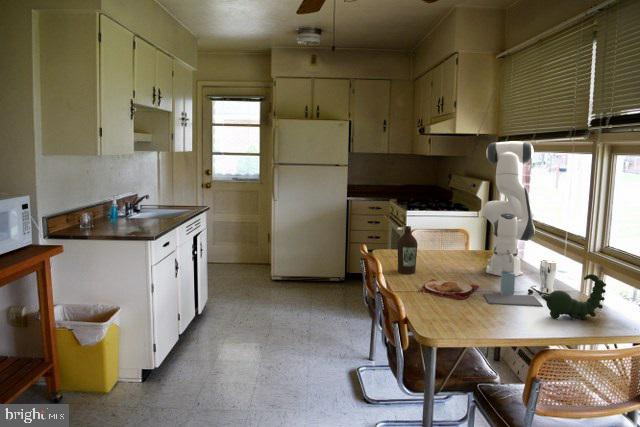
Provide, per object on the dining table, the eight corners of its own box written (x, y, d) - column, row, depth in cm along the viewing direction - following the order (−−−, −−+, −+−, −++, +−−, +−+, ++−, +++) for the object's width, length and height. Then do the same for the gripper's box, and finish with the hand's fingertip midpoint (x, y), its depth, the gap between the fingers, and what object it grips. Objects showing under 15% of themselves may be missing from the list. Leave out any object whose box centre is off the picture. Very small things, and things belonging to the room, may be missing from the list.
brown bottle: (394, 269, 274) (395, 225, 271) (412, 269, 275) (414, 224, 272) (399, 274, 263) (401, 228, 260) (419, 274, 265) (420, 227, 262)
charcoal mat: (483, 294, 229) (483, 293, 229) (533, 296, 226) (533, 295, 226) (488, 303, 215) (489, 302, 215) (542, 306, 212) (542, 305, 212)
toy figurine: (590, 317, 204) (532, 313, 202) (597, 272, 202) (539, 267, 199) (605, 325, 195) (544, 321, 192) (613, 278, 192) (551, 273, 190)
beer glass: (545, 294, 229) (547, 262, 227) (535, 290, 236) (537, 259, 234) (557, 293, 231) (560, 262, 229) (547, 289, 238) (549, 258, 236)
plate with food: (479, 289, 241) (479, 282, 241) (463, 301, 219) (464, 293, 219) (431, 282, 254) (431, 275, 253) (412, 293, 232) (413, 286, 232)
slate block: (500, 292, 233) (501, 271, 232) (511, 292, 232) (512, 271, 231) (502, 295, 228) (503, 273, 227) (513, 295, 228) (515, 274, 226)
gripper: (518, 253, 223) (516, 283, 225) (508, 244, 243) (506, 272, 245) (504, 252, 224) (502, 282, 226) (495, 244, 244) (493, 272, 246)
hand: (504, 277), depth 235 cm, fingers closed
